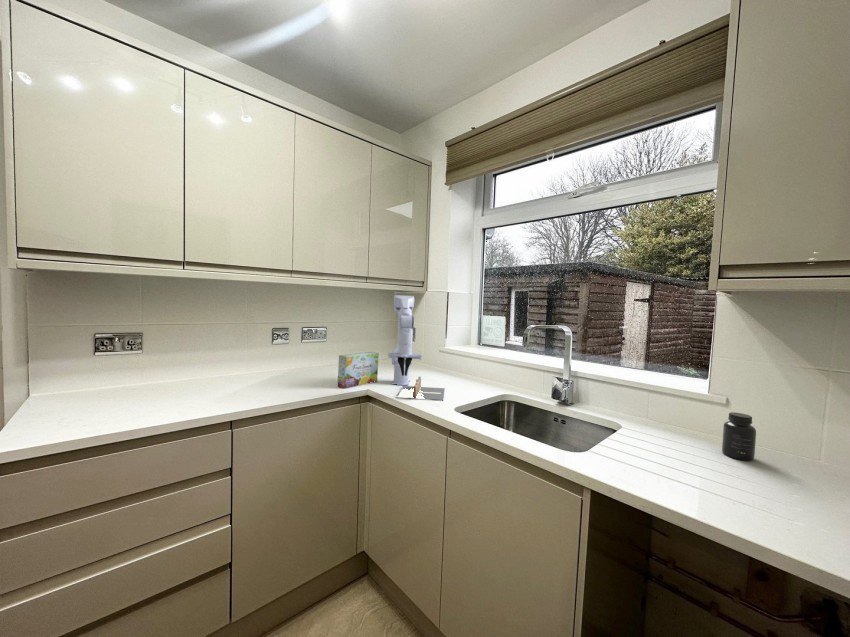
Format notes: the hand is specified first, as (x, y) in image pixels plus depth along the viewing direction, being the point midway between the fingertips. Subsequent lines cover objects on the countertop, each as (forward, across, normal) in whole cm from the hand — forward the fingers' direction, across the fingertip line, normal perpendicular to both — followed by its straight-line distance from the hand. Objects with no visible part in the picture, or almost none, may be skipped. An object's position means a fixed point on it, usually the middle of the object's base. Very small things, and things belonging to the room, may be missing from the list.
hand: (404, 375), depth 144 cm
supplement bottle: (+10, +102, -40) cm, 110 cm away
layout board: (+9, +6, +8) cm, 14 cm away
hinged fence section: (+9, +5, +2) cm, 10 cm away
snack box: (+10, -25, +18) cm, 32 cm away
